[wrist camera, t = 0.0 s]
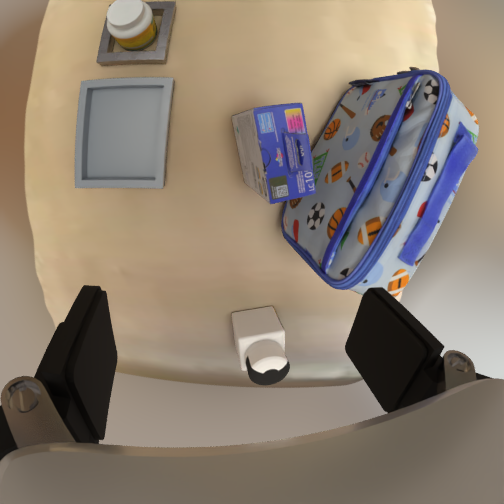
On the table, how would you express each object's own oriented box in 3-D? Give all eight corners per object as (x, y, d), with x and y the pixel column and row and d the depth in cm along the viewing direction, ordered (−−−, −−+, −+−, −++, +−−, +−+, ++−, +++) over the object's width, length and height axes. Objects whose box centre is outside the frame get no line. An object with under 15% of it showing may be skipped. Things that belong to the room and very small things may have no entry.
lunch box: (344, 66, 35) (456, 40, 15) (393, 103, 38) (505, 109, 18) (266, 227, 42) (332, 314, 23) (322, 250, 46) (403, 332, 26)
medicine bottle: (273, 336, 51) (294, 384, 40) (234, 343, 50) (247, 394, 39) (273, 304, 48) (296, 352, 38) (230, 311, 47) (244, 362, 36)
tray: (88, 84, 29) (81, 81, 26) (174, 81, 32) (173, 77, 29) (82, 183, 34) (74, 188, 32) (164, 184, 37) (162, 188, 34)
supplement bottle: (113, 32, 27) (93, 8, 18) (148, 12, 26) (137, -18, 18) (128, 59, 29) (111, 39, 20) (164, 39, 29) (157, 13, 20)
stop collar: (113, 11, 25) (109, 4, 23) (176, 8, 27) (175, 1, 25) (101, 66, 28) (96, 62, 26) (165, 63, 30) (163, 59, 28)
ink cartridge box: (282, 177, 40) (328, 201, 27) (244, 185, 39) (273, 214, 26) (270, 108, 36) (313, 98, 23) (230, 115, 35) (253, 106, 22)
